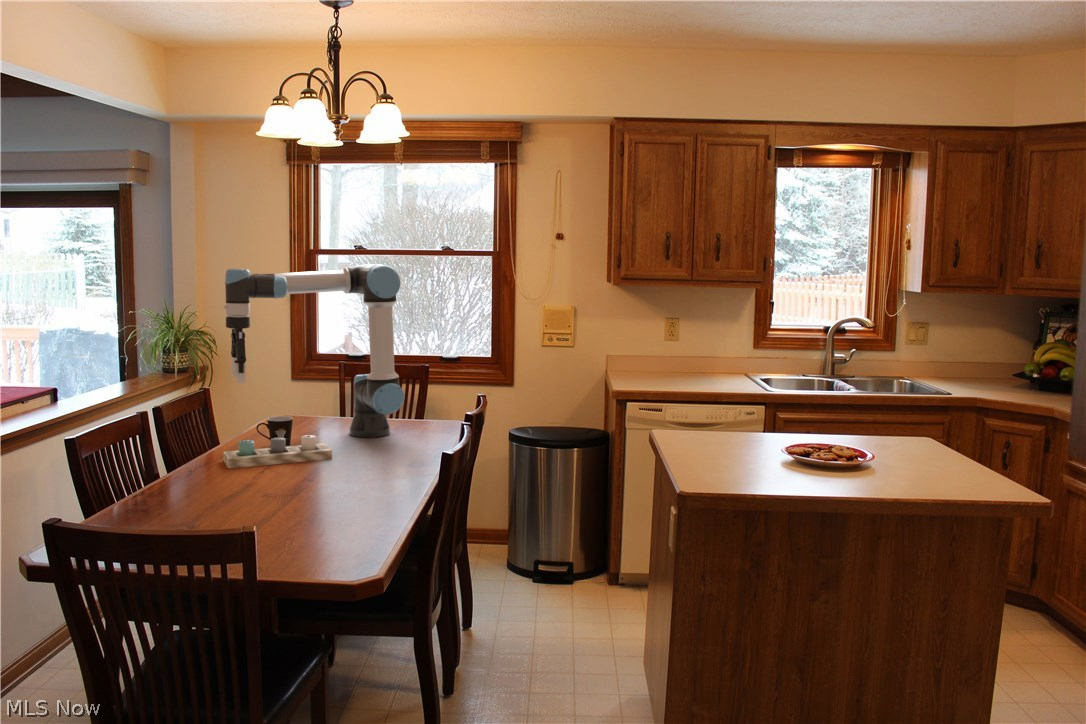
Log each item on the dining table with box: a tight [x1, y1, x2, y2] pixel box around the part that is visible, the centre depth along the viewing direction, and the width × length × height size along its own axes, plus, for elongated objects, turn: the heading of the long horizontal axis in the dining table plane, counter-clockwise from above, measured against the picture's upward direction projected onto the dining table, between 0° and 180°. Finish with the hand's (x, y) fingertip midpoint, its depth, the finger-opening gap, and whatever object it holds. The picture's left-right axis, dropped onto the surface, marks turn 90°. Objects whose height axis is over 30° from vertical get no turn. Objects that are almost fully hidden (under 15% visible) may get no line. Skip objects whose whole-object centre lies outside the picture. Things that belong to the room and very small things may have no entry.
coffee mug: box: [256, 415, 294, 446], centre depth 300 cm, size 12×9×10 cm
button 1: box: [300, 434, 317, 451], centre depth 285 cm, size 5×5×5 cm
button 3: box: [238, 439, 255, 456], centre depth 276 cm, size 5×5×5 cm
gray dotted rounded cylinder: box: [269, 438, 286, 454], centre depth 281 cm, size 5×5×5 cm
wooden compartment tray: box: [222, 443, 333, 469], centre depth 281 cm, size 33×11×3 cm, turn 117°
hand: (238, 379), depth 282 cm, fingers open, 13 cm apart
